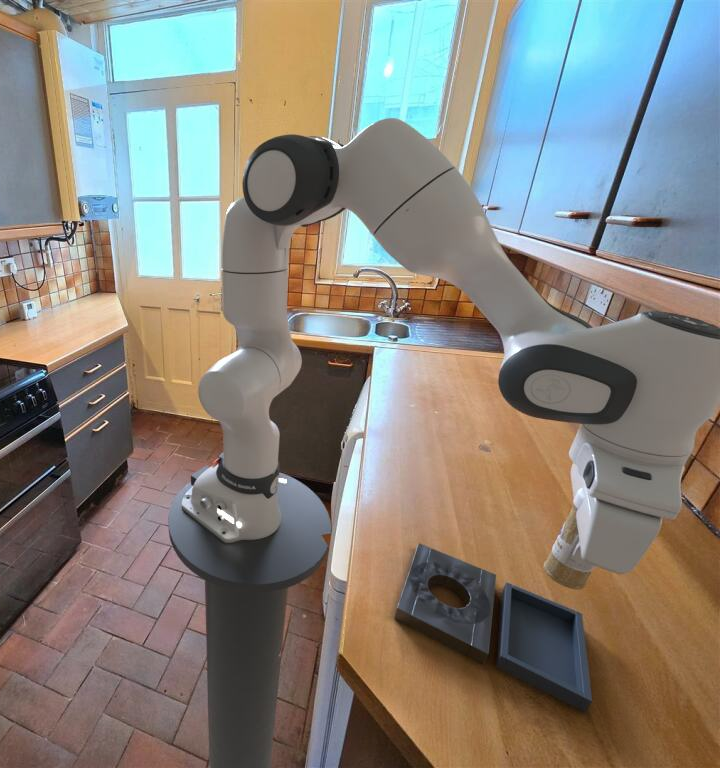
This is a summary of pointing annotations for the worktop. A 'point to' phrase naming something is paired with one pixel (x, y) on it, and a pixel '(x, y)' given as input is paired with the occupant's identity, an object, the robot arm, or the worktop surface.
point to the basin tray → (544, 646)
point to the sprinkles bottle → (568, 553)
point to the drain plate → (443, 622)
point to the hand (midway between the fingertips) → (578, 545)
